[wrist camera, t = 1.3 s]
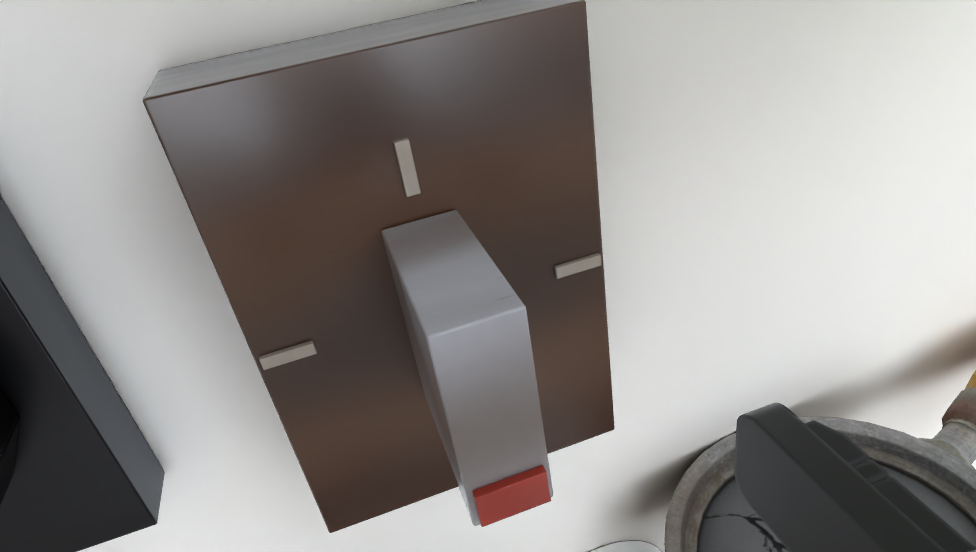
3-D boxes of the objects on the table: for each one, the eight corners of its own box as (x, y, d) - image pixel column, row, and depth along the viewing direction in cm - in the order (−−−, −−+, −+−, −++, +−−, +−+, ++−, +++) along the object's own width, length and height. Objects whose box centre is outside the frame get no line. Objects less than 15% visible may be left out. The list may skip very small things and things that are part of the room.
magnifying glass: (1278, 356, 26) (937, 867, 17) (1249, 409, 28) (925, 901, 19) (930, 255, 36) (597, 543, 27) (924, 298, 38) (608, 584, 29)
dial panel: (157, 70, 16) (140, 101, 13) (538, -13, 18) (588, 0, 15) (320, 467, 23) (330, 538, 20) (578, 378, 25) (617, 433, 22)
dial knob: (380, 229, 16) (429, 344, 12) (456, 208, 17) (531, 312, 12) (424, 394, 19) (476, 535, 15) (488, 373, 20) (558, 504, 15)
